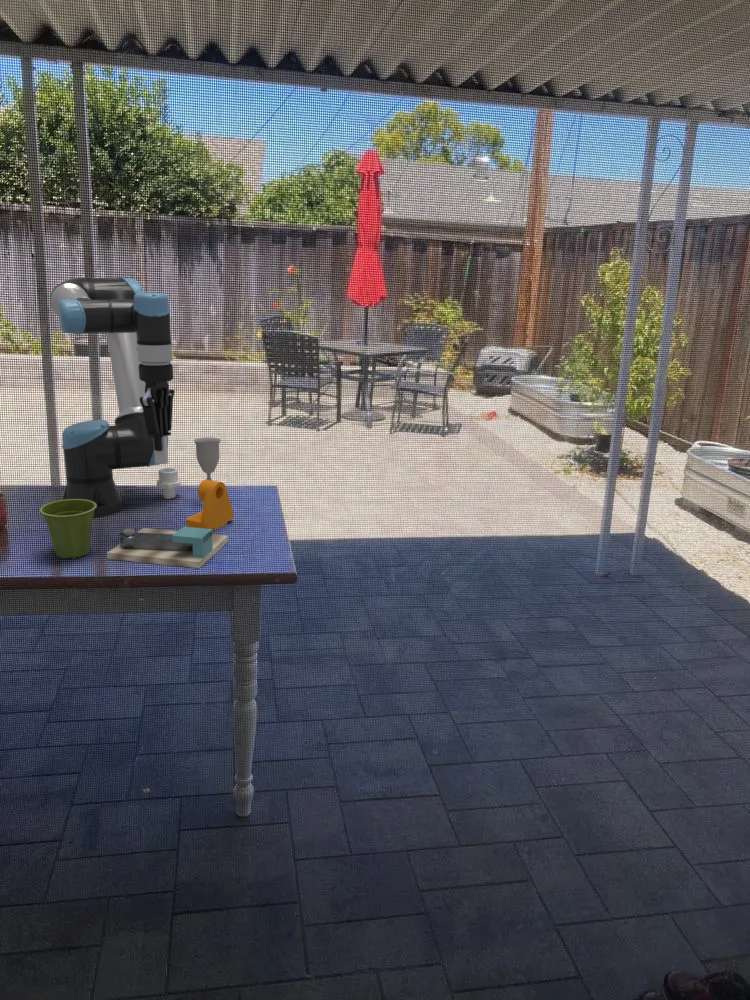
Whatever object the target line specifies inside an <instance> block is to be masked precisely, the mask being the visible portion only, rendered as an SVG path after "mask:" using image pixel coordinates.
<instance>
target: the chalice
mask: <svg viewBox="0 0 750 1000" xmlns="http://www.w3.org/2000/svg"><path fill="white" fill-rule="evenodd" d="M221 441H222V440H221V438H218V437H213V436H211V437H209V436H207V437H205V436H204V437H198V438H194V439H193V442H194V444H195V453H196V454H195V455H196V459H197V462H198V464H199V467H200V469H201V470H202V472H203V473H205V474H206V479H205V480H212V481H213V479H212V476H211V475H212V473H214V472H215V471H216V468H217V465H218V464H219V460H220V443H221ZM200 504H202V505H201V506H204V501H203V500H201V502H200Z"/></svg>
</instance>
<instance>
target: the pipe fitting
mask: <svg viewBox="0 0 750 1000" xmlns="http://www.w3.org/2000/svg"><path fill="white" fill-rule="evenodd" d="M181 481H182V480H181V478H179V470H178V469H177V468H175V467H174V468H173V467H164V468H161V469H159V470H158V479H156V487H158V488H162V489H163V499H165V498H166V500H172V499H171V498H173V499H175V498H176V487H180V486H181V485H182V484H181V483H182V482H181ZM174 497H175V498H174Z"/></svg>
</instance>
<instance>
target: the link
mask: <svg viewBox="0 0 750 1000" xmlns="http://www.w3.org/2000/svg"><path fill="white" fill-rule="evenodd" d="M137 532H138V531H135V534H134V535H131V536H125V535H123V532H122V533H120V534H119V535H118V536H119V544H120V547H121V548H124V549H132V548H139V549H162V550H185V551H191V550H193V544H190V543H179V542H172V535H173V534H158V533H137Z"/></svg>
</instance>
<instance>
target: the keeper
mask: <svg viewBox="0 0 750 1000" xmlns="http://www.w3.org/2000/svg"><path fill="white" fill-rule="evenodd" d="M176 531H177V532H176V533H175V534H173V535H172V542H179V543H190V544H193V557H201V558H204V557H205V556H206V555H207V554H209V553H210V552H211V551H212V550H213V548H212V536H213V534H214V532H213V529H203V528H193V527H187V526H182V527H181V528H180V529H178V530H176Z"/></svg>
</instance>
